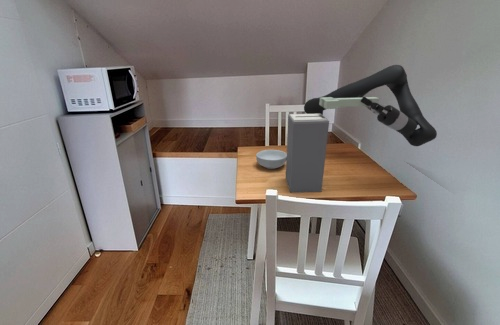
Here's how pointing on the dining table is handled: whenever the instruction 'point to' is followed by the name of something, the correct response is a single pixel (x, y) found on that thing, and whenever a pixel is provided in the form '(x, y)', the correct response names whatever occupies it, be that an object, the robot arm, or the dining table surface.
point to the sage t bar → (343, 102)
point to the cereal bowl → (271, 158)
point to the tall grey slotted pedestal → (306, 152)
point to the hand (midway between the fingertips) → (360, 98)
